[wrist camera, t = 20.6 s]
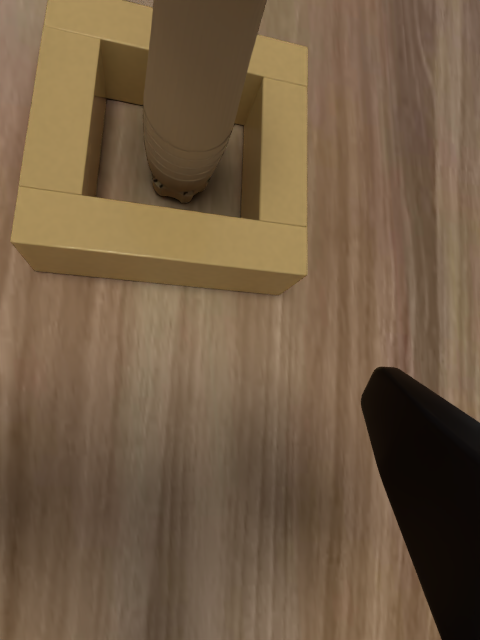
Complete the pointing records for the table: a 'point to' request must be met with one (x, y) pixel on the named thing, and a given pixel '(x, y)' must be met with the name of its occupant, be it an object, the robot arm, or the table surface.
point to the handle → (194, 87)
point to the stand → (147, 220)
